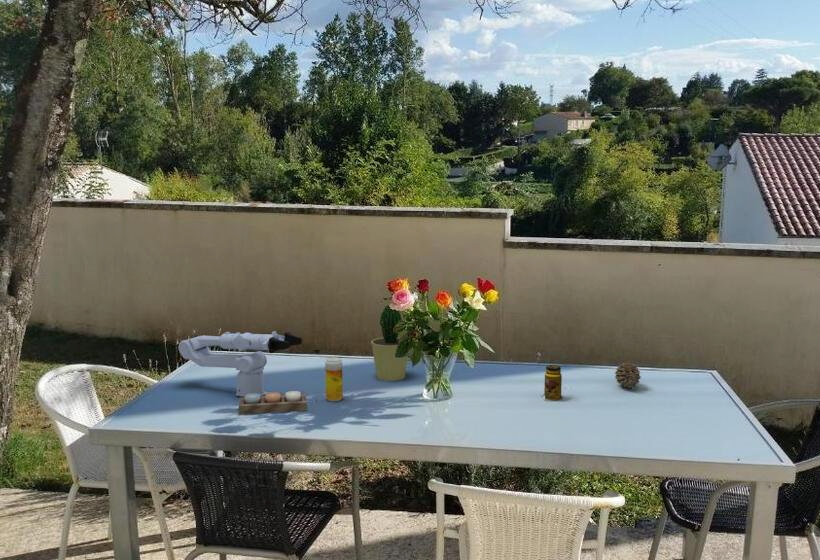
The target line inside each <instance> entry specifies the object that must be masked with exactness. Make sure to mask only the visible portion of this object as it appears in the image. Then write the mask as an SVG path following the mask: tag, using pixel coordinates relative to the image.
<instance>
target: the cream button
mask: <svg viewBox="0 0 820 560" xmlns="http://www.w3.org/2000/svg"><path fill="white" fill-rule="evenodd" d="M301 394H302V393H301V391H296V390H289V391H287V392H285V395H286V402H292V401H301Z"/></svg>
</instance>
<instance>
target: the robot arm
mask: <svg viewBox="0 0 820 560" xmlns="http://www.w3.org/2000/svg"><path fill="white" fill-rule="evenodd" d="M299 345H303V339H302V337H299V336H297V335H294V334H292V333H290V332H289V331H287V332H284V335H281V334H278V333H277V331H276V330H275V331H272V332H271V334H269V333H268V334H266V333H265V334H264V333H263V334H262V333H251V332H248V331H246V332H244V333H241V332H235V333H231V332H230V331H226V332H224V333H222V334H221V335H220V336H216V335H215V336H214V335H205V334H204V335H197V336H195V337H192V338H188V339H184V340H181V341H180V342H179V343H178V351H179V353H180V355H181V356H182V358H183V359H185V360H189V361H191V362H193V363H195V364H196V365H198V366H199V367H206V368H207V367H208V368H226V369H227V368H228V369H235V370H236V371H238V373H237V375H236V377H235V378H236V393H235V396H237V397H238V396H239V397H241V398H243V397H245V395H246V394H250V393H258V394H260V397H262V396H265V394H266V393H270V392H269V391H266V390H264V370H265V367H266V365H267V361H268V358H267V356H266V354H265V353H264V352H263V351H269V352H268V353H269V354H274V353H276V352H278V351H282V350H287V349H290V348H291V347H293V346H299ZM209 346H213V347H214V346H219V347H220V348H222V349H224V350H239V351H240V352H243V351H244V350H253V351H255V350H256V351H255V352H253V353H244V354H232V353H231V354H230V353H228V354H227V353H212V352H211V350H210V347H209Z"/></svg>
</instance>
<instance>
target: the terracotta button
mask: <svg viewBox="0 0 820 560" xmlns="http://www.w3.org/2000/svg"><path fill="white" fill-rule="evenodd" d="M280 395H281V393H280V392H277V391H270V392H269V393H266V394H265V395H264V396H265V401H266V403H274V402H281V397H280Z"/></svg>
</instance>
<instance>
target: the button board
mask: <svg viewBox="0 0 820 560" xmlns="http://www.w3.org/2000/svg"><path fill="white" fill-rule="evenodd" d="M280 397H281V402H274V403H266V401H265V395H263V396H261V397H260V403H256V404H245V397H240V398H239V402H238V403H239V404H238V415H240V416H242V415H241V414H245V415H256V414H255V413H262V414H272V413H271V412H279V413H292V412H291V411H296V412H307V411H308V401H307V395H306V393H301V401H292V402H286V394H283V395H281V394H280ZM306 410H307V411H306Z"/></svg>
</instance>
